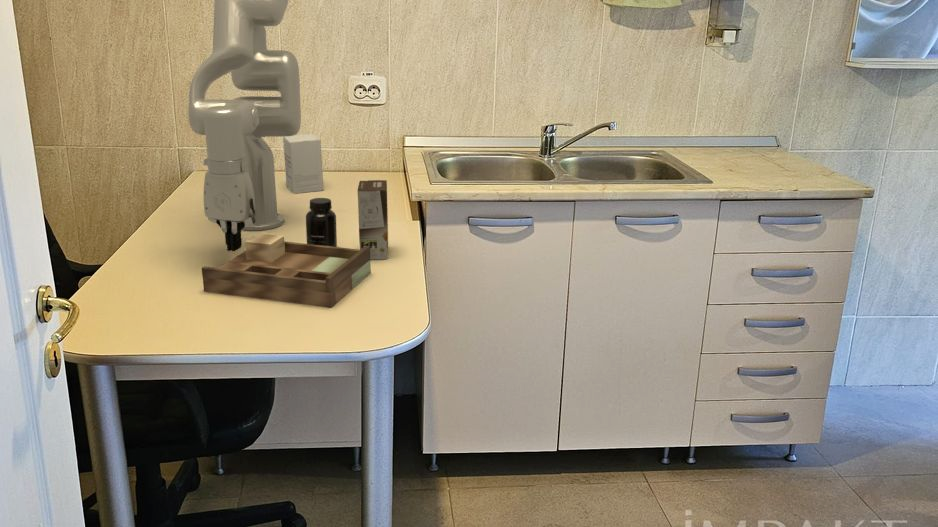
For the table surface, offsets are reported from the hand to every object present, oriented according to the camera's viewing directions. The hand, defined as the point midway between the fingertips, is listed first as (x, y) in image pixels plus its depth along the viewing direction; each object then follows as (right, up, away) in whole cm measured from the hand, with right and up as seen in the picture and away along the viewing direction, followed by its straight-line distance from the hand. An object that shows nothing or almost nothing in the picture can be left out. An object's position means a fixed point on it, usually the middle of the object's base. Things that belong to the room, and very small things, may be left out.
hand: (234, 248), depth 188 cm
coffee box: (+29, -1, +10) cm, 31 cm away
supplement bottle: (+17, 0, +12) cm, 21 cm away
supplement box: (+4, +18, +62) cm, 65 cm away
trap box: (+14, -7, -7) cm, 17 cm away
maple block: (+7, -2, -2) cm, 8 cm away
